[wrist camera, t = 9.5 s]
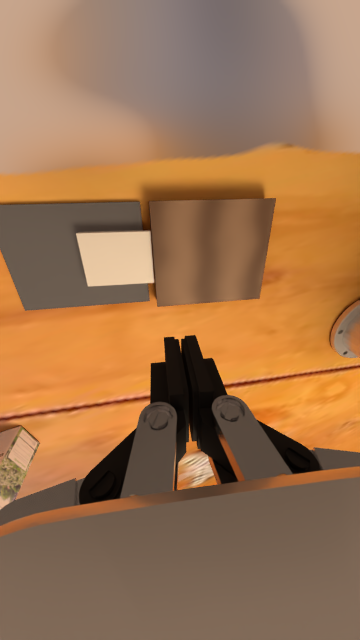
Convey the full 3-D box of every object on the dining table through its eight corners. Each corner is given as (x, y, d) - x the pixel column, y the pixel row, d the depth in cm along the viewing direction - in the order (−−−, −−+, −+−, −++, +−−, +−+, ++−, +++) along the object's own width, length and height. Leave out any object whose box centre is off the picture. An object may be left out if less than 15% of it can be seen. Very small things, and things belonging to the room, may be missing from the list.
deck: (264, 199, 26) (276, 198, 24) (251, 292, 32) (259, 298, 29) (148, 201, 24) (149, 201, 22) (156, 299, 30) (157, 306, 28)
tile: (150, 230, 25) (150, 231, 24) (153, 279, 28) (154, 282, 27) (79, 231, 24) (75, 233, 23) (90, 282, 27) (87, 286, 26)
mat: (139, 201, 24) (139, 201, 24) (149, 299, 30) (149, 300, 29) (-15, 205, 22) (-18, 205, 22) (26, 309, 28) (25, 310, 28)
